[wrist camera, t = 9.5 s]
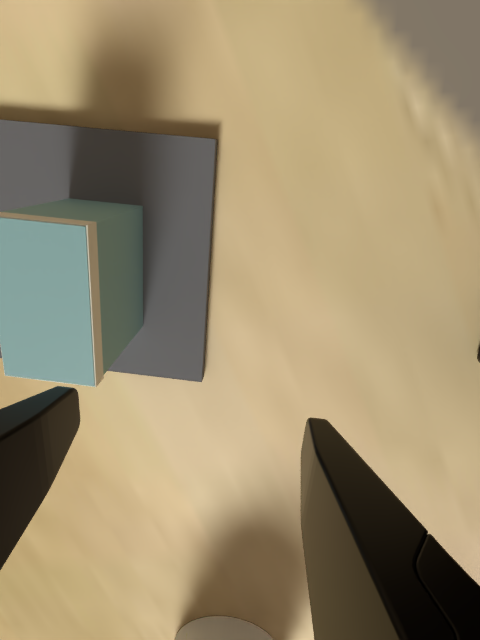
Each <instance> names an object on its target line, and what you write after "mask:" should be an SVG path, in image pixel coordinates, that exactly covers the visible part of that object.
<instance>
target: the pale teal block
mask: <svg viewBox="0 0 480 640" xmlns="http://www.w3.org/2000/svg"><path fill="white" fill-rule="evenodd" d="M142 326H143V206H139V205H129V204H119V203H109V202H100V201H90V200H80V199H70V198H68V199H63V200H58V201H53V202H48V203H43V204H38V205H33V206H28V207H23V208H18V209H12V210H7V211H2V212H0V346H1V353H2V359H3V366H4V373H5V376H12V377H20V378H28V379H36V380H44V381H52V382H60V383H68V384H76V385H84V386H92V387H97V385H98V384H99V383H100V382H101V380H102V379H103V378H104V377H103V375H104V374H105V373H106V371H107V370H108V369H109V368H110V366H111V365H112V364H113V363H114V361H115V360H116V359H117V358H118V356H119V355H120V354H121V353H122V351H123V350H124V349H125V348H126V346H127V345H128V344H129V343H130V341H131V340H132V339H133V338H134V336H135V335H136V334H137V333H138V331H139V330H140V329H141V328H142Z"/></svg>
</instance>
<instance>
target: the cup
mask: <svg viewBox="0 0 480 640" xmlns="http://www.w3.org/2000/svg"><path fill="white" fill-rule="evenodd" d="M175 640H273V638H272V637H271V636H270V635H269V634H268V633H267V632H266V631H264V630H263V629H261V628H260V627H258V626H256V625H255V624H252V623H250V622H248V621H245V620H242V619H238V618H234V617H227V616H209V617H203V618H199V619H196V620H193V621H191V622H189V623H187V624H186V625H184V626H183V627H182V628H181V629H180V630H179V631H178V633H177V635H176V637H175Z"/></svg>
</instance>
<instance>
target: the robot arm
mask: <svg viewBox="0 0 480 640" xmlns="http://www.w3.org/2000/svg"><path fill="white" fill-rule="evenodd" d="M477 359H478V361H479V362H480V349H479V352H478V356H477ZM79 425H80V410H79V397H78V392H77V390H76V389H75V388H70V387H62V386H57V387H54V388H52V389H49V390H47V391H44V392H42V393H40V394H37V395H35V396H32V397H30V398H27V399H25V400H22V401H20V402H17V403H15V404H12V405H10V406H7V407H5V408H2V409H0V570H1V568H2V567H3V565H4V564H5V562H6V560H7V559H8V557H9V555H10V554H11V552H12V550H13V549H14V547H15V546H16V544H17V542H18V541H19V539H20V537H21V536H22V534H23V532H24V531H25V529H26V528H27V526H28V524H29V523H30V521H31V519H32V518H33V516H34V514H35V513H36V511H37V510H38V508H39V506H40V505H41V503H42V501H43V500H44V498H45V496H46V495H47V493H48V491H49V489H50V487H51V485H52V483H53V481H54V480H55V477H56V475H57V473H58V471H59V469H60V467H61V465H62V463H63V460H64V458H65V456H66V454H67V452H68V450H69V448H70V446H71V444H72V441H73V439H74V437H75V435H76V433H77V431H78V428H79ZM301 529H302V539H303V548H304V556H305V564H306V573H307V581H308V589H309V598H310V606H311V614H312V623H313V631H314V639H315V640H480V586H479V585H478V584H477V583H476V582H475V581H474V580H473V579H472V578H471V577H470V576H469V575H468V574H467V573H466V572H465V571H464V570H463V568H462V567H461V566H460V565H459V564H458V563H457V562H456V561H455V560H454V559H453V558H452V557H451V556H450V555H449V554H448V553H447V552H446V550H445V549H444V548H443V547H442V546H441V545H440V544H439V543H438V542H437V541H436V539H435V538H434V537H433V536H432V535H431V534H428V531H427V530H426V529H425V528H424V526H423V525H422V524H421V523H420V522H419V521H418V520H417V519H416V518H415V517H414V515H413V514H412V513H411V512H410V511H409V510H408V509H407V508H406V507H405V505H404V504H403V503H402V502H401V501H400V500H399V499H398V498H397V497H396V496H395V494H394V493H393V492H392V491H391V490H390V489H389V488H388V487H387V486H386V484H385V483H384V482H383V481H382V480H381V479H380V478H379V477H378V476H377V475H376V473H375V472H374V471H373V470H372V469H371V468H370V467H369V466H368V465H367V464H366V462H365V461H364V460H363V459H362V458H361V457H360V456H359V455H358V454H357V452H356V451H355V450H354V449H353V448H352V447H351V446H350V445H349V444H348V443H347V441H346V440H345V439H344V438H343V437H342V436H341V435H340V434H339V433H338V432H337V430H336V429H335V428H334V427H333V426H332V425H331V424H330V423H329V422H328V421H327V420H325V419H319V418H308V420H307V422H306V427H305V432H304V438H303V444H302V450H301ZM427 534H428V535H427Z"/></svg>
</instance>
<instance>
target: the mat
mask: <svg viewBox="0 0 480 640" xmlns="http://www.w3.org/2000/svg"><path fill="white" fill-rule="evenodd" d="M216 156H217V139H208V138H197V137H186V136H175V135H164V134H153V133H142V132H131V131H120V130H109V129H98V128H87V127H76V126H65V125H54V124H43V123H32V122H21V121H10V120H0V212H2V211H7V210H12V209H18V208H23V207H28V206H33V205H38V204H43V203H48V202H53V201H58V200H63V199H68V198H70V199H80V200H90V201H100V202H109V203H119V204H129V205H139V206H143V326H142V328H141V329H140V330H139V331H138V333H137V334H136V335H135V336H134V338H133V339H132V340H131V341H130V343H129V344H128V345H127V346H126V348H125V349H124V350H123V351H122V353H121V354H120V355H119V356H118V358H117V359H116V360H115V361H114V363H113V364H112V365H111V366H110V368H109V369H108V370H107V371H114V372H122V373H131V374H139V375H147V376H155V377H164V378H172V379H180V380H189V381H197V382H202V380H203V377H204V361H205V344H206V327H207V310H208V293H209V276H210V258H211V241H212V224H213V207H214V190H215V173H216ZM0 358H2V353H1V346H0Z"/></svg>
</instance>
